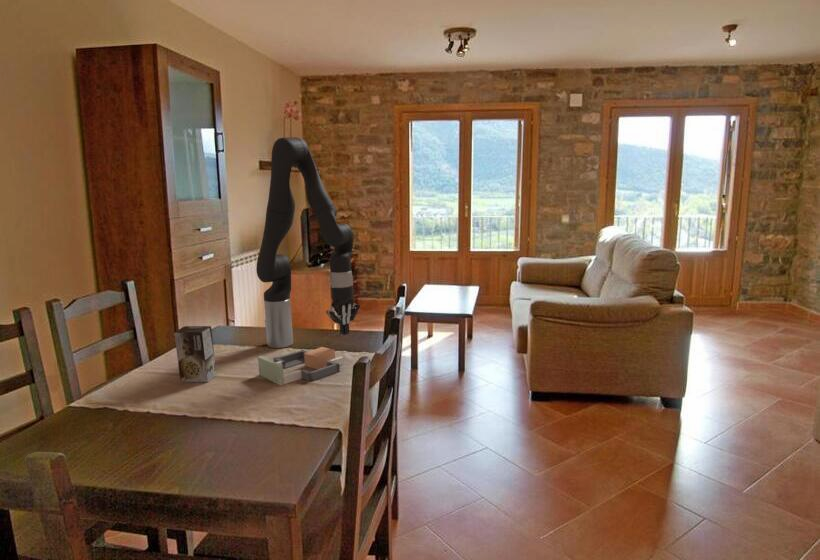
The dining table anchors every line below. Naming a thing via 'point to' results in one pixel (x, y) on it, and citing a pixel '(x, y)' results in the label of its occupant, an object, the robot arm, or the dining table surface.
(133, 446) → the dining table surface
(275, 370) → the box
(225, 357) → the dining table surface
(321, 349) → the terracotta block
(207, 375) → the coffee box
